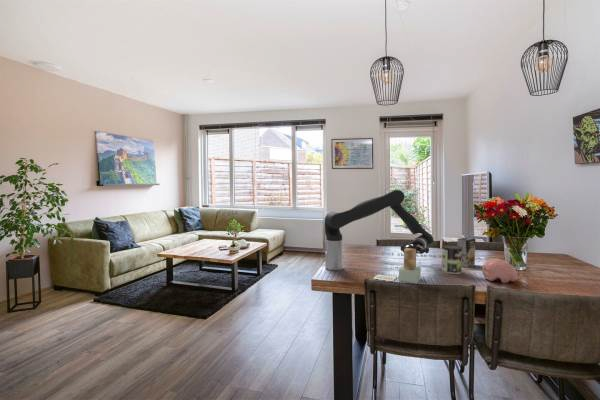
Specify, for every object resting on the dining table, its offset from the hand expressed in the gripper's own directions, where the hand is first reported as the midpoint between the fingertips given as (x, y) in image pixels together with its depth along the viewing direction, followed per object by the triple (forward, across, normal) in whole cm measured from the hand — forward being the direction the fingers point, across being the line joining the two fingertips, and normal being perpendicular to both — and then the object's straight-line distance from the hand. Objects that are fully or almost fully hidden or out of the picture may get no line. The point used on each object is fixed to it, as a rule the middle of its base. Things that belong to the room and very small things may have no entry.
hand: (412, 251), depth 170 cm
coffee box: (-40, +23, +15) cm, 48 cm away
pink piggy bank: (-16, +40, +15) cm, 45 cm away
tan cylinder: (+4, 0, +8) cm, 9 cm away
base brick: (+4, 0, +14) cm, 15 cm away
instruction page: (+8, -12, +14) cm, 20 cm away
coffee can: (-22, +17, +15) cm, 31 cm away
